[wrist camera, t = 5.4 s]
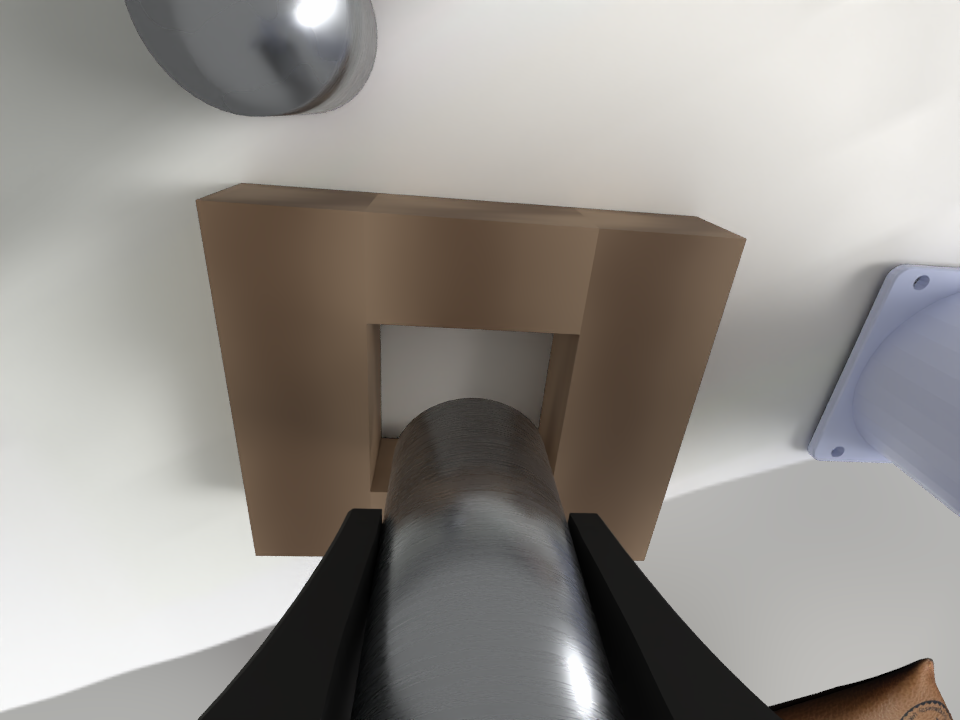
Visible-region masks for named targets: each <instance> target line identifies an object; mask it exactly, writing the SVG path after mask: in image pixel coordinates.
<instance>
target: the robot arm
mask: <svg viewBox="0 0 960 720" xmlns="http://www.w3.org/2000/svg"><path fill="white" fill-rule="evenodd" d="M918 277H919V280H918V281H917V283H916V284H914V282H915V280H916V279H917V278H918ZM834 448H835V449H834ZM833 449H834V450H833ZM808 452H809V454H810V455H811V456H812V457H813V458H815V459H816V460H819V461H844V462H845V461H846V462H876V463H893V464H894V465H896V466H897V467H898V468H900V469H901V470H902V471H903V472H904V473H906V474H907V475H908V476H909V477H911V478H912V479H913V480H914V481H916V482H917V483H918V484H919V485H921V486H922V487H923V488H924V489H925V490H927V491H928V492H929V493H931V494H932V495H933V496H934V497H935V498H937V499H938V500H939V501H940V502H942V503H943V504H944V505H946V506H947V507H948V508H949V509H950V510H952V511H953V512H954V513H955V514H957V515H958V516H959V517H960V268H953V267H938V266H924V265H909V264H905V265H899V266H897V267H895V268H894V269H893V270H891V271H890V272H889V273H888V275H887V276H886V278H885V280H884V282H883V285H882V287H881V289H880V291H879V293H878V296H877V298H876V300H875V302H874V304H873V306H872V309H871V311H870V313H869V315H868V317H867V319H866V322H865V324H864V326H863V328H862V330H861V333H860V335H859V337H858V339H857V341H856V343H855V346H854V348H853V350H852V352H851V354H850V356H849V359H848V361H847V363H846V365H845V367H844V370H843V372H842V374H841V376H840V378H839V380H838V383H837V385H836V387H835V389H834V391H833V394H832V396H831V398H830V400H829V402H828V404H827V407H826V409H825V411H824V413H823V415H822V417H821V420H820V422H819V424H818V426H817V428H816V431H815V433H814V435H813V437H812V439H811V441H810V444H809V446H808ZM567 524H568V527H569V531H570V534H571V538H572V541H573V544H574V548H575V551H576V555H577V558H578V562H579V565H580V568H581V572H582V575H583V579H584V582H585V585H586V589H587V592H588V596H589V599H590V602H591V606H592V609H593V613H594V616H595V619H596V623H597V626H598V630H599V633H600V636H601V640H602V643H603V647H604V650H605V653H606V657H607V660H608V664H609V667H610V670H611V674H612V677H613V681H614V684H615V687H616V691H617V694H618V698H619V701H620V704H621V708H622V711H623V715H624V718H625V720H782V719H781V718H780V717H779V716H778V715H777V714H775V713H774V712H773V711H772V710H771V709H770V708H769V707H768V706H767V705H766V704H764V703H763V702H762V701H761V700H760V699H759V698H758V697H757V696H755V694H754V693H753V692H751V691H750V690H749V689H748V688H747V687H746V686H745V685H744V684H743V683H742V682H741V681H740V680H739V679H738V678H737V677H736V676H735V675H734V674H733V673H732V672H731V671H730V670H729V669H728V668H727V667H726V666H725V665H724V664H723V663H722V662H721V661H720V660H719V659H718V658H717V657H716V656H715V655H714V654H713V653H712V652H711V651H710V650H709V648H708V647H707V646H706V645H705V644H704V643H703V642H702V641H701V640H700V639H699V638H698V637H697V636H696V635H695V633H694V632H693V631H692V630H691V629H690V628H689V627H688V626H687V624H686V623H685V622H684V621H683V620H682V619H681V618H680V617H679V616H678V614H677V613H676V612H675V611H674V610H673V609H672V607H671V606H670V605H669V604H668V603H667V601H666V600H665V599H664V598H663V597H662V596H661V594H660V593H659V592H658V591H657V589H656V588H655V587H654V586H653V585H652V583H651V582H650V581H649V580H648V579H647V577H646V576H645V575H644V574H643V572H642V571H641V570H640V568H639V567H638V566H637V565H636V563H635V562H634V561H633V560H632V558H631V557H630V556H629V554H628V553H627V552H626V550H625V549H624V548H623V547H622V545H621V544H620V543H619V541H618V540H617V539H616V537H615V536H614V535H613V533H612V532H611V531H610V529H609V528H608V527H607V525H606V524H605V523H604V521H603V520H602V519H601V517H600V516H599V515H598V514H597V513H570V514H569V518H568V523H567ZM381 529H382V509H362V508H353V509H351V510H350V511H349V512H348V513H347V515H346V517H345V519H344V521H343V523H342V525H341V527H340V529H339V531H338V533H337V534H336V536H335V538H334V540H333V541H332V543H331V545H330V547H329V548H328V550H327V551H326V553H325V555H324V556H323V558H322V560H321V561H320V563H319V565H318V566H317V568H316V569H315V571H314V572H313V574H312V575H311V577H310V578H309V580H308V581H307V583H306V584H305V586H304V587H303V589H302V590H301V592H300V593H299V595H298V596H297V598H296V599H295V601H294V602H293V603H292V605H291V606H290V607H289V609H288V610H287V611H286V613H285V614H284V616H283V617H282V618H281V620H280V621H279V622H278V624H277V625H276V626H275V628H274V629H273V630H272V632H271V633H270V635H269V636H268V637H267V638H266V640H265V641H264V642H263V644H262V645H261V646H260V647H259V649H258V650H257V651H256V652H255V654H254V655H253V656H252V657H251V659H250V660H249V661H248V663H247V664H246V665H245V666H244V667H243V669H242V670H241V671H240V672H239V673H238V675H237V676H236V677H235V678H234V679H233V680H232V681H231V683H230V684H229V685H228V686H227V687H226V689H225V690H224V691H223V692H222V693H221V694H220V696H219V697H218V698H217V699H216V700H215V701H214V702H213V703H212V704H211V705H210V706H209V708H208V709H207V710H206V711H205V712H204V713H203V714H202V716H200V717H199V719H198V720H350V719H351V713H352V707H353V700H354V694H355V688H356V682H357V676H358V670H359V664H360V658H361V651H362V645H363V639H364V633H365V627H366V621H367V615H368V609H369V602H370V596H371V590H372V584H373V578H374V572H375V566H376V560H377V554H378V548H379V541H380V535H381Z"/></svg>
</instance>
